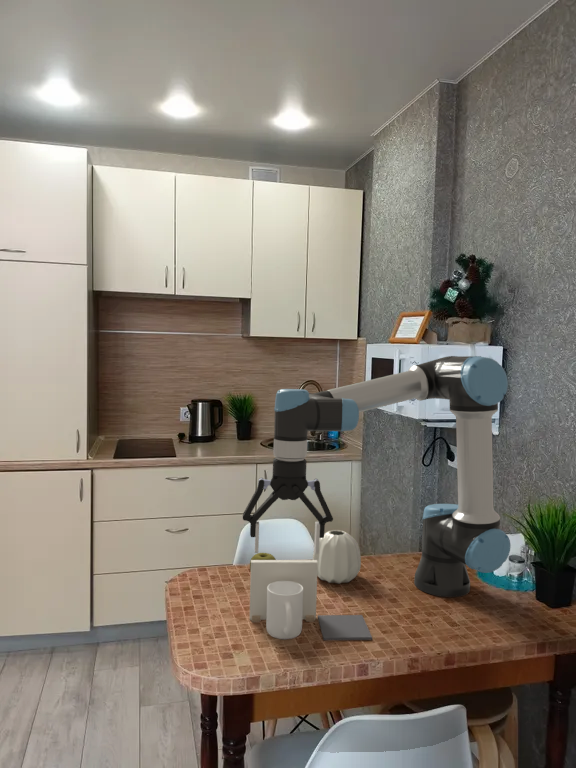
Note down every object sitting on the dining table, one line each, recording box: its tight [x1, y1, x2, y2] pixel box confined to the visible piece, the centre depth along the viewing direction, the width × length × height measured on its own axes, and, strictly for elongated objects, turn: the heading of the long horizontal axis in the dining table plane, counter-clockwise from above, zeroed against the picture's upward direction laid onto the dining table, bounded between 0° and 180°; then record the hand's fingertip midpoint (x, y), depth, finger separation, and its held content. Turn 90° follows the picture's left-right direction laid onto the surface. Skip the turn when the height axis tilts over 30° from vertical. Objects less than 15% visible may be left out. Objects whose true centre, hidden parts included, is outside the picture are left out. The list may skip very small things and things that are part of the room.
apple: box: [249, 552, 277, 572], centre depth 161 cm, size 8×8×7 cm
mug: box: [265, 581, 303, 640], centre depth 129 cm, size 12×8×10 cm
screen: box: [249, 559, 318, 623], centre depth 137 cm, size 16×4×14 cm, turn 94°
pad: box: [317, 614, 373, 641], centre depth 133 cm, size 11×11×1 cm
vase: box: [312, 529, 362, 584], centre depth 163 cm, size 14×14×13 cm
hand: (286, 551), depth 128 cm, fingers open, 13 cm apart
